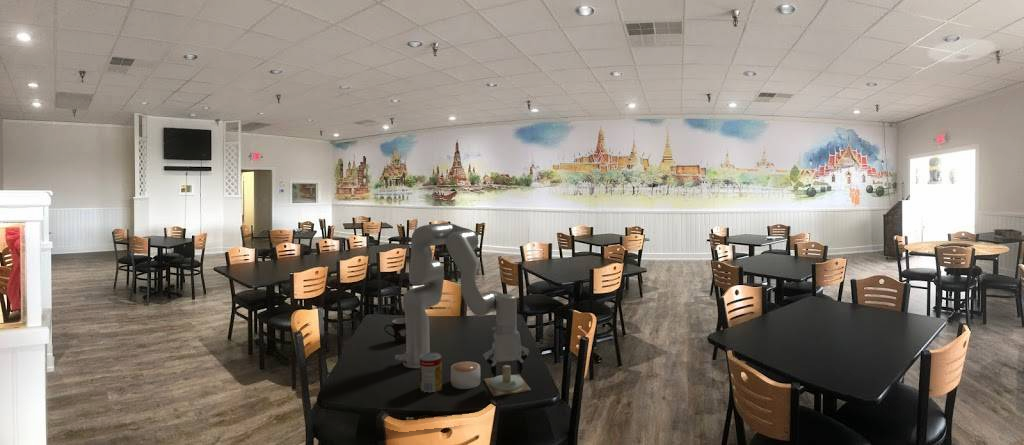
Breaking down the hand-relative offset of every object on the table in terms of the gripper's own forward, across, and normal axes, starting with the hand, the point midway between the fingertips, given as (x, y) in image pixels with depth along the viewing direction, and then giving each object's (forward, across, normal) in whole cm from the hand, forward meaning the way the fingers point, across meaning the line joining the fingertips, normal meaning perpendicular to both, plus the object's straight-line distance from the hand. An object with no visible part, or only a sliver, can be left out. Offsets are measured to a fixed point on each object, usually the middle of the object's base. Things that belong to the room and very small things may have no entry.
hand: (506, 373), depth 175 cm
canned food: (+5, -27, +6) cm, 28 cm away
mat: (+4, 0, 0) cm, 4 cm away
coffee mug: (+5, -35, +62) cm, 71 cm away
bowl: (+4, -14, +7) cm, 16 cm away
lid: (+4, 0, 0) cm, 4 cm away
